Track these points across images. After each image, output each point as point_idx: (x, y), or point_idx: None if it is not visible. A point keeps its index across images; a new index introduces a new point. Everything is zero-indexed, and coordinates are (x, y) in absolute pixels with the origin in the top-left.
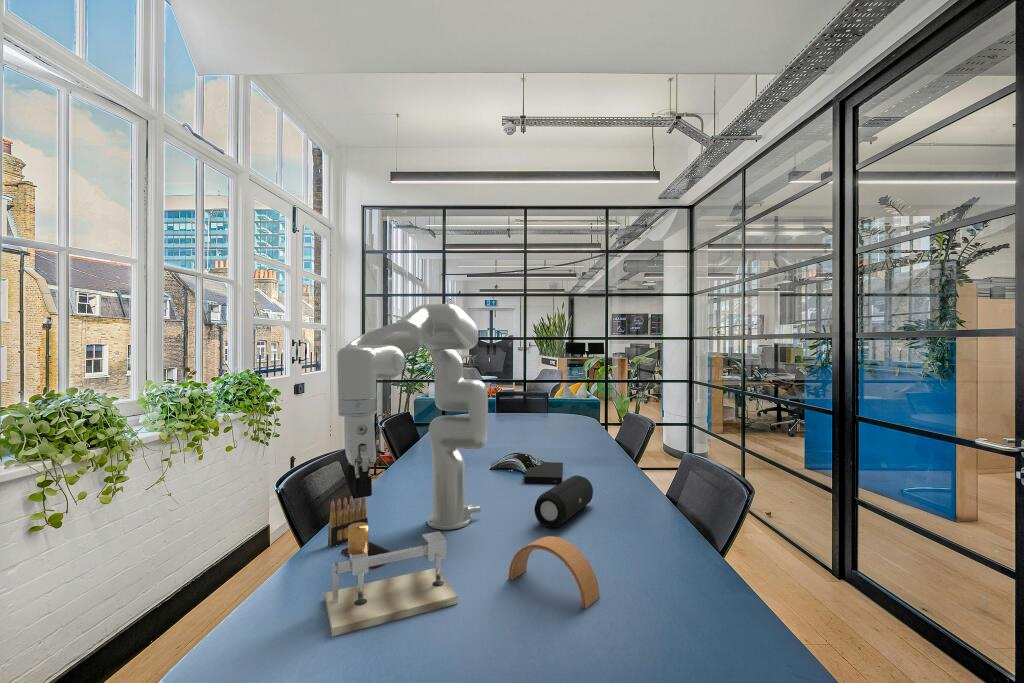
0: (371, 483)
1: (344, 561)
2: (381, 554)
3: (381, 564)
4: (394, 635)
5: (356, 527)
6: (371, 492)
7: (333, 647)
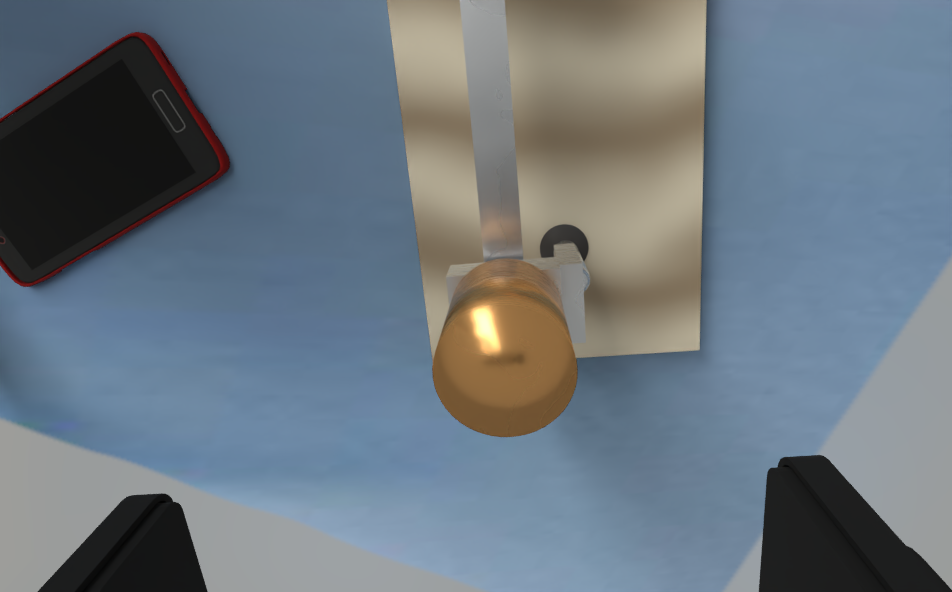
0: (927, 575)
1: None
2: (483, 173)
3: (205, 125)
4: (794, 139)
5: (532, 386)
6: (838, 476)
7: (754, 337)
